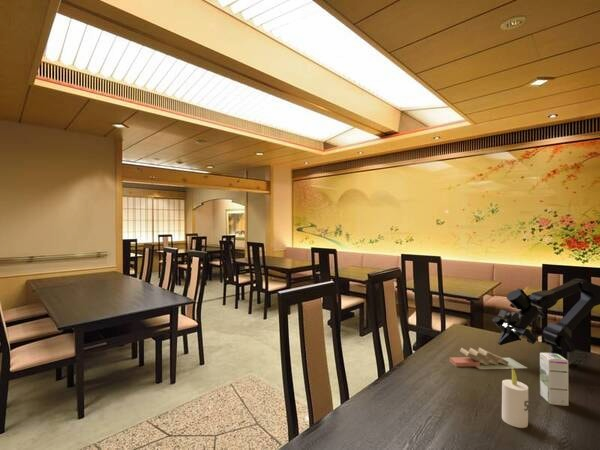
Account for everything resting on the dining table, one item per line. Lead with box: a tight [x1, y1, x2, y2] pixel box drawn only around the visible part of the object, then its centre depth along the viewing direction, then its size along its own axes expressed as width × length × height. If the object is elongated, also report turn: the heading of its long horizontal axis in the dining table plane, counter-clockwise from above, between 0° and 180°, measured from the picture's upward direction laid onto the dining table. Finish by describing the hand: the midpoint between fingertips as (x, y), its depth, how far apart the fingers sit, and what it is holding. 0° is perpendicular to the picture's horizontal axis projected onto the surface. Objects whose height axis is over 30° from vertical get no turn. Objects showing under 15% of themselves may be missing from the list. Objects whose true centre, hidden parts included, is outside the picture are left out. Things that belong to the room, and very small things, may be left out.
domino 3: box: [468, 347, 499, 366], centre depth 131 cm, size 2×5×10 cm
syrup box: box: [539, 352, 569, 407], centre depth 104 cm, size 6×6×14 cm
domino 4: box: [477, 347, 508, 365], centre depth 131 cm, size 2×5×10 cm
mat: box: [475, 357, 528, 370], centre depth 131 cm, size 20×10×1 cm, turn 94°
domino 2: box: [459, 347, 490, 366], centre depth 131 cm, size 2×5×10 cm
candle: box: [501, 368, 530, 429], centre depth 93 cm, size 6×6×15 cm
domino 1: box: [449, 356, 480, 368], centre depth 130 cm, size 2×5×10 cm
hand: (499, 344), depth 131 cm, fingers closed
